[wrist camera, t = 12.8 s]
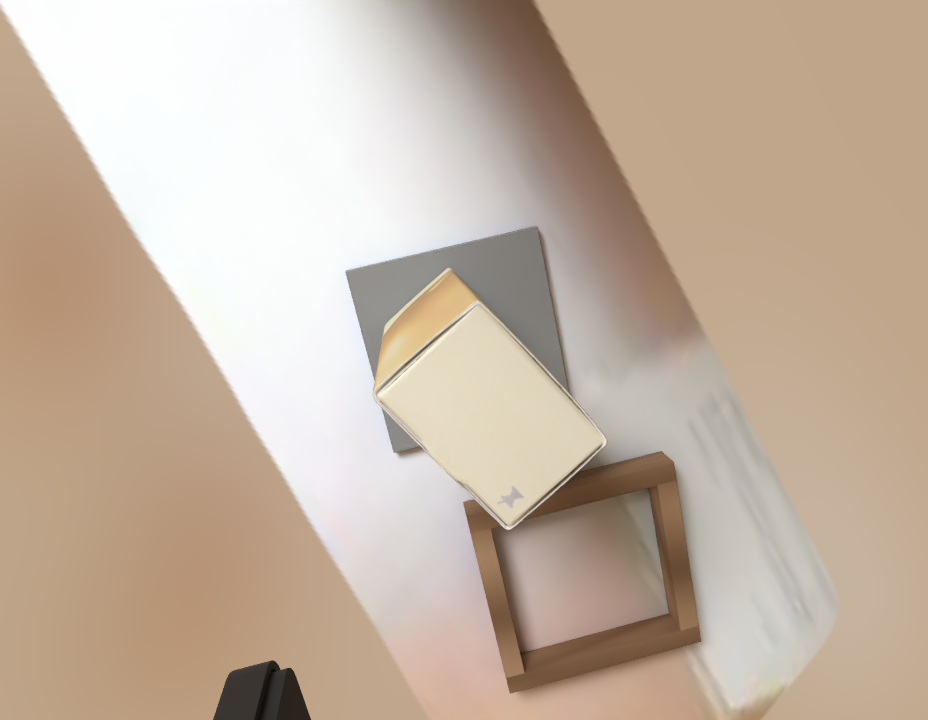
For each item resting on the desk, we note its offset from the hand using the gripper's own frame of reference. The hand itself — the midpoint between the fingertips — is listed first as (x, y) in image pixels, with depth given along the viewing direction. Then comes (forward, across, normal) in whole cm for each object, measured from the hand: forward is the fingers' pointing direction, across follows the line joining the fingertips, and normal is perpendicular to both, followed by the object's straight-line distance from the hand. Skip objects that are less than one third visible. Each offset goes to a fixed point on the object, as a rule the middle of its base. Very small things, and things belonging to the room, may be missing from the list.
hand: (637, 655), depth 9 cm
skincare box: (+23, 0, 0) cm, 23 cm away
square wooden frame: (+23, -4, +14) cm, 27 cm away
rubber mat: (+23, 0, +1) cm, 23 cm away
